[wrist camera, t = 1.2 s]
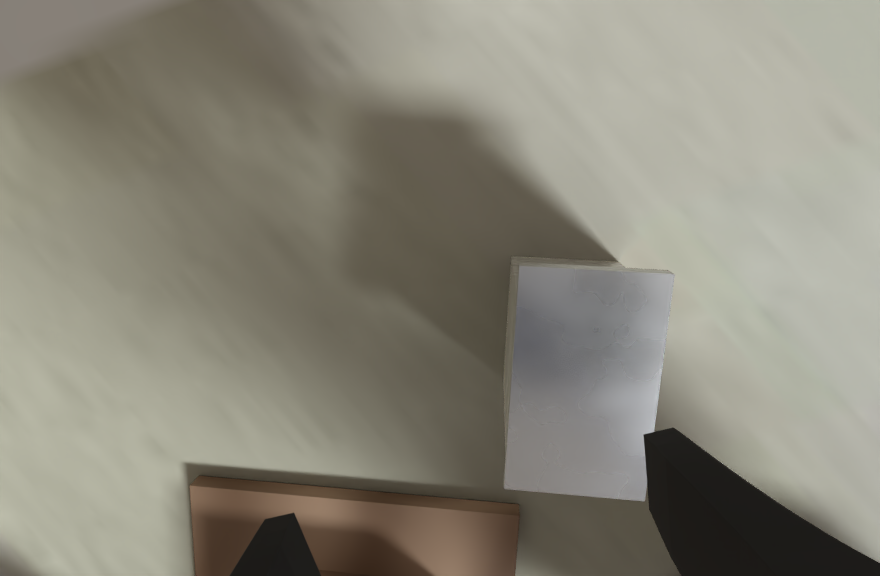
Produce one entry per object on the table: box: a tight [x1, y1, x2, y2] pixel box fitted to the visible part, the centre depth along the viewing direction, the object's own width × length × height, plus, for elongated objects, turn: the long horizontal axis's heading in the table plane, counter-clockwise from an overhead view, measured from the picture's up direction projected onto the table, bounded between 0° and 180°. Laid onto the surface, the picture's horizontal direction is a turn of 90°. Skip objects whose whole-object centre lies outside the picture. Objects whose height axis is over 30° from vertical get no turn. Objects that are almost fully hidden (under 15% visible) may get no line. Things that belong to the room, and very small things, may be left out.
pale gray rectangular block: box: [503, 256, 675, 501], centre depth 19 cm, size 4×7×7 cm, turn 178°
